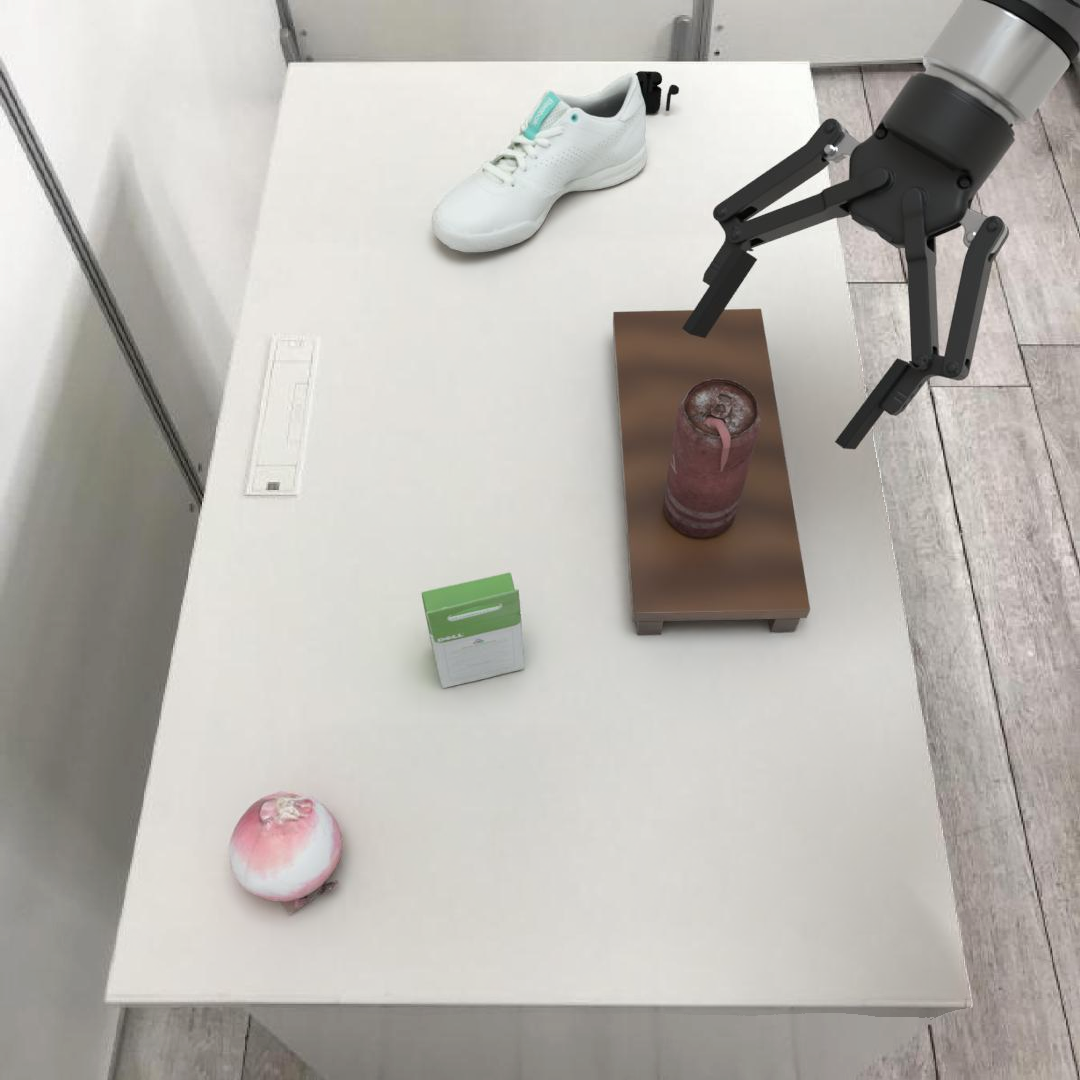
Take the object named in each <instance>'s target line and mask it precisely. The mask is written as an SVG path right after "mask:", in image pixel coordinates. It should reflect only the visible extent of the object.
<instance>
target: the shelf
mask: <svg viewBox="0 0 1080 1080" xmlns="http://www.w3.org/2000/svg"><path fill="white" fill-rule="evenodd" d="M693 311H694V309H683V310H682V309H681V310H680V309H679V310H678V309H677V310H636V311H633V310H632V311H631V310H630V311H613V313H612V314H613V315H612V333H613V347H614V362H615V364H614V365H615V377H616V379H615V380H616V393H617V395H616V396H617V407H618V409H617V410H618V421H619V422H618V423H619V425H618V426H619V436H620V437H619V439H620V451H621V452H620V454H621V467H622V469H621V470H622V482H623V496H624V497H623V498H624V511H625V512H624V513H625V526H626V528H625V529H626V542H627V556H628V557H627V558H628V572H629V573H628V575H629V588H630V601H631V619H632V622H634V623H635V624H636V625H635V627H636V635H637V636H654V635H655V636H656V635H657V636H658V635H662V631H663V626H664V622H684V621H689V622H690V621H732V620H735V621H736V620H768V624H769V632H770V633H795V632H796V629H797V627H798V625H799V622H800V620H801V619H808V616H809V614H810V611H811V606H810V599H809V593H808V586H807V582H806V576H805V574H806V573H805V569H804V563H803V555H802V551H801V550H802V549H801V544H800V539H799V531H798V527H797V519H796V515H795V514H796V513H795V508H794V502H793V495H792V490H791V484H790V477H789V470H788V464H787V459H786V452H785V447H784V439H783V434H782V427H781V422H780V416H779V410H778V409H779V408H778V404H777V398H776V391H775V386H774V380H773V373H772V367H771V360H770V355H769V354H770V353H769V349H768V343H767V336H766V330H765V323H764V318H763V313H762V309H761V308H732V309H731V308H730V309H729V308H727V309H726V308H725V309H724V311H723V312H722V314H721V315H720V317H719V318H718V320H717V321H716V323H715V324H714V326H713V327H712V329H711V330H710V332H709V333H708V335H707V336H706V338H702V337H698V336H695V335H691V334H689V333H688V332H686V331H685V330H684V329H682V328H683V326H684V325H685V323H686V321H687V320H688V318H689V317H690V315H691V314H692V312H693ZM714 378H718V379H728V380H732V381H735V382H738V383H740V384H741V385H743V386H745V387H746V388H747V389H748V390H749V391H750V392H751V393H752V394H753V395H754V397H755V399H756V401H757V403H758V406H759V409H760V411H761V425H760V429H759V432H758V436H757V440H756V443H755V447H754V451H753V454H752V458H751V462H750V465H749V469H748V473H747V476H746V480H745V484H744V488H743V491H742V495H741V499H740V502H739V506H738V510H737V513H736V516H735V519H734V521H733V523H732V524H731V525H730V526H729V527H728V529H727V530H725V531H723V532H722V533H720V534H718V535H715V536H710V537H706V538H704V537H693V536H690V535H686V534H684V533H682V532H681V531H679V530H678V529H676V528H675V527H673V525H672V524H671V523H670V522H669V520H668V519H667V517H666V515H665V512H664V509H663V505H664V493H665V487H666V481H667V475H668V468H669V462H670V456H671V449H672V443H673V437H674V430H675V424H676V418H677V411H678V407H679V404H680V402H681V400H682V398H683V397H684V396H685V395H686V394H687V393H688V392H689V391H690V390H691V388H692V387H693V386H694V385H696V384H698V383H700V382H702V381H704V380H709V379H714Z"/></svg>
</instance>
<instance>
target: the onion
mask: <svg viewBox="0 0 1080 1080" xmlns="http://www.w3.org/2000/svg"><path fill="white" fill-rule="evenodd" d="M342 837H343V836H342V832H341V829H340V826H339V823H338V822H337V820H336V818H335V816H334V815H333V813H332V812H331V811H330V809H329V808H328V807H326V805H325V804H324V803H322V802H321V801H319V800H318V799H315V798H314V797H312V796H310V795H305V794H303V793H297V792H291V791H277V792H273V793H272V794H268V795H266V796H264V797H261V798H259V799H258V800H257V801H256V802H253V804H251V805H250V807H248V808H247V810H246V811H245V812H244V813H243V814H242V816H241V817H240V818H239V820H238V821H237V823H236V825H235V826H234V829H233V831H232V834H231V836H230V840H229V845H228V846H229V847H228V857H229V858H228V859H229V864H230V868H231V871H232V873H233V876H234V878H235V880H236V882H237V883H238V884H239V885H240V887H241V888H243V889H244V890H245V891H247V892H248V893H250V894H252V895H254V896H256V897H259V898H261V899H264V900H268V901H274V902H280V904H281V905H282V907H283V909H284V910H285V912H286V914H287V915H291V914H292V913H294V912H295V911H297V910H299V909H300V908H302V907H304V906H306V905H307V904H308V903H310V902H312V901H313V900H314V899H315V898H316V897H317V896H320V895H323V894H325V893H326V892H328V891H329V890H331V889H332V888H334V887H335V886H337V885H338V884H340V882H339V881H338V880H336V879H335V880H333V881H330V882H327V880H328V879H329V878H330V877H331V875H332V874H333V873H334V871H335V869H336V868H337V866H338V864H339V862H340V860H341V857H342V856H341V855H342V851H343V840H342ZM320 887H321V888H320ZM319 888H320V890H319V892H317V893H316V894H315V895H313V896H312V897H311V898H309V897H308V896H309V895H311V894H312V893H314V892H315V891H316V890H318V889H319Z"/></svg>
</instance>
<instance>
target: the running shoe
mask: <svg viewBox="0 0 1080 1080" xmlns="http://www.w3.org/2000/svg"><path fill="white" fill-rule="evenodd" d="M646 114H647V113H646V107H645V102H644V99H643V96H642V93H641V89H640V84H639V81H638V77H637V75H636V73H635V72H628V73H625V74H623V75H621V76H620V77H618V78H617V79H615V80H613V81H612V82H611V83H609V84H608V85H607V86H606V87H605V88H602V89H601V90H599V91H597V92H595V93H592V94H589V95H586V96H573V95H568V94H563V93H558V92H554V91H553V90H551V89H549V90H548V89H547V90H546V91H545V92H544V93H542V95H541V97H540V98H539V100H538V101H537V103H536V105H535V106H534V107H533V109H532V111H531V112H530V113H529V114H527V116H526V118H525V119H524V122H523V124H521V125H519V133H518V134H517V135H515V136H514V137H513V138H512V139H511V140H510V144H509V145H508V146H507V147H505V148H504V149H501V150H500V151H498V152H497V154H496V157H494V158H493V159H492V160H489V161H485V162H484V163H483V164H482V165H480V168H478V169H477V170H476V171H475V172H474V173H472V174H471V175H469V176H468V177H466V178H465V179H464V180H462V181H461V182H459V184H457V185H456V186H455V187H454V188H453V189H451V190H450V191H449V192H448V193H447V194H446V195H445V196H444V197H443V198H442V199H441V200H440V202H439V203H438V204H437V205H436V206H435V208H434V209H433V211H432V212H431V213H432V214H431V224H430V225H431V230H432V231H433V233H434V235H435V236H436V238H437V239H438V240H439V241H440V242H441V243H443V244H444V245H445V246H447V247H448V248H450V249H452V250H456V251H457V252H463V253H486V252H492V251H493V252H494V251H498V250H501V249H505V248H508V247H511V246H515V245H517V244H520V243H522V242H524V241H527V240H528V239H529V238H531V237H532V236H533V235H534V234H535V233H536V232H537V231H538V230H539V229H540V228H541V226H542V224H543V223H544V222H545V220H546V219H547V216H548V214H549V212H550V210H551V208H552V207H553V205H554V204H555V203H556V201H558V200H559V198H561V197H562V196H564V195H565V194H567V193H571V192H583V191H594V190H595V191H596V190H600V189H605V188H611V187H614V186H616V185H619V184H622V183H624V182H626V181H628V180H630V179H632V178H634V177H635V176H636V175H638V174H639V173H640V172H641V171H642V170H643V168H644V167H645V165H646V163H647V138H646V131H647V117H646V116H647V115H646Z"/></svg>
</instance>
